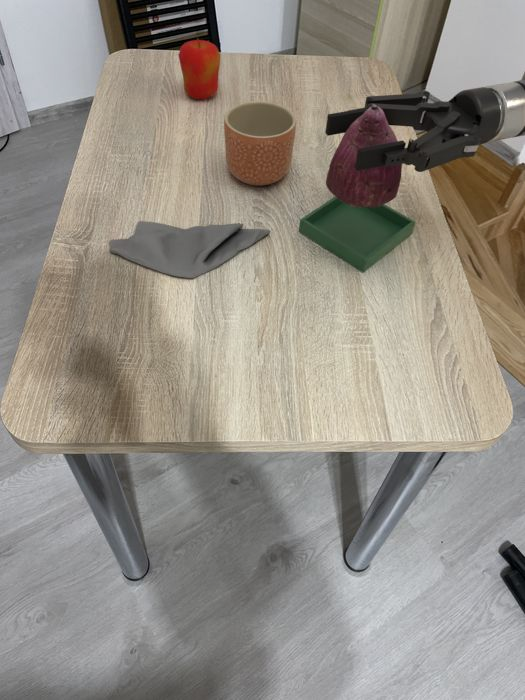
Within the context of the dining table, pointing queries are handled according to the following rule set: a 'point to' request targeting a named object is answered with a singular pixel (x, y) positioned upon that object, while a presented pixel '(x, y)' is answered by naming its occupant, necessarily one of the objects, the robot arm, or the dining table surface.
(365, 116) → the vegetable
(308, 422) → the dining table surface
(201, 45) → the apple
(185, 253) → the cloth
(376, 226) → the green tray
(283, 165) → the planter
